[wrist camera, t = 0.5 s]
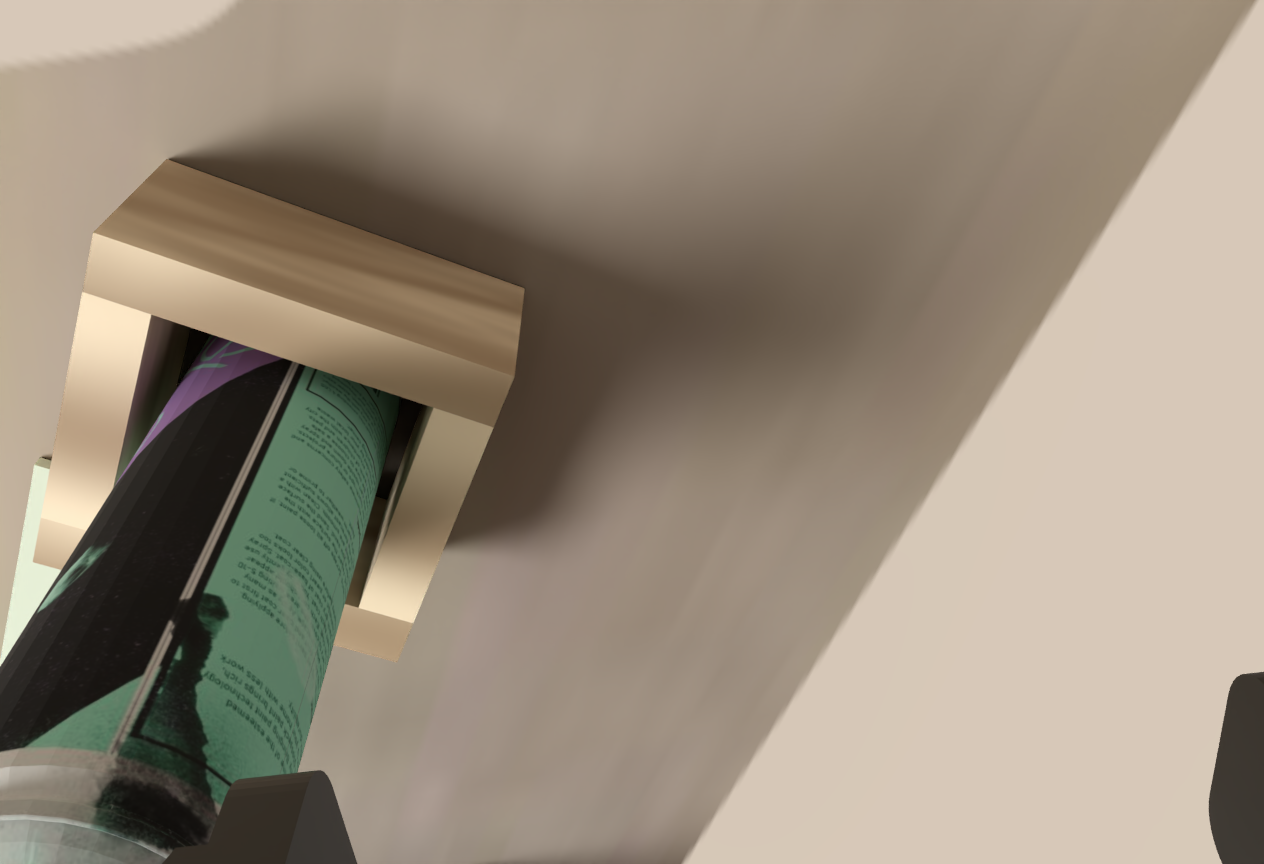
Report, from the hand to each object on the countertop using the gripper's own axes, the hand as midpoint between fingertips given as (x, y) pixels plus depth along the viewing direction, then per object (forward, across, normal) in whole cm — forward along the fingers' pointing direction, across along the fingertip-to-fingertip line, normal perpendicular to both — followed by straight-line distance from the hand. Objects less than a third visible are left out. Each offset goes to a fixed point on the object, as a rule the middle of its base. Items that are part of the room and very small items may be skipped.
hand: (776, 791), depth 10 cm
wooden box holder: (+22, +10, +5) cm, 25 cm away
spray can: (+22, +10, +5) cm, 25 cm away
